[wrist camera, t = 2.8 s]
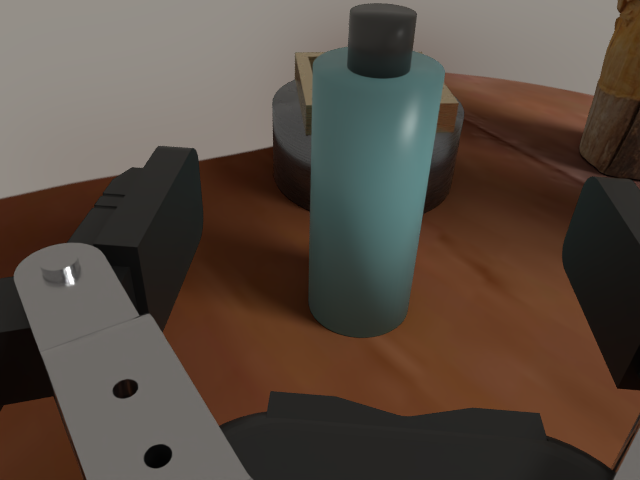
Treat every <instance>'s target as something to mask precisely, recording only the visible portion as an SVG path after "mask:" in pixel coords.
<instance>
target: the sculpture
mask: <svg viewBox="0 0 640 480" xmlns="http://www.w3.org/2000/svg"><path fill="white" fill-rule="evenodd" d="M617 9H618V11H619V12H620V17H618V18H617V19H616V22H615V31H614V34H613V36H612V38H611V40H610V43H609V46H608V48H607V51H606V55H605V59H604V62H603V66H602V71H601V76H600V79H599V81H598V83H597V87H596V91H595V95H594V98H593V102H592V105H591V108H590V111H589V115H588V118H587V122H586V125H585V129H584V132H583V135H582V139H581V142H580V153H581V155H582V156H583V157H584V158H585V159H586V160H587V161H588V162H589V163H590V164H592V165H593V166H595V167H596V168H597V169H598V170H599V171H600V172H601V173H604V174H606V175H609V176H614V177H618V178H630V179H638V180H640V0H618V5H617Z"/></svg>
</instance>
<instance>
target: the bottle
mask: <svg viewBox="0 0 640 480" xmlns="http://www.w3.org/2000/svg"><path fill="white" fill-rule="evenodd" d="M416 17H417V13H416V12H415V11H414V10H412V9H410V8H407V7H403V6H399V5H393V4H381V3H380V4H379V3H374V4H363V5H358V6H355V7H353V8H351V10H350V19H349V38H348V47H344V48H338V49H334V50H331V51H328V52H326V53H323V54H321V55H320V56H318V57H317V58H316V59H315V60H314V62H313V80H312V134H311V188H310V241H309V295H308V302H309V308H310V311H311V313H312V314H313V316H314V317H315V319H316V320H317V321H318V322H319V323H320V324H322V325H323V326H324V327H326V328H327V329H329V330H331V331H333V332H336V333H338V334H341V335H345V336H350V337H359V338H364V337H374V336H379V335H382V334H385V333H388V332H390V331H392V330H393V329H395V328H396V327H398V326H399V325H400V324H401V323H402V322H403V320H404V319H405V317H406V315H407V312H408V305H409V299H410V293H411V286H412V280H413V274H414V267H415V261H416V255H417V248H418V242H419V235H420V229H421V223H422V216H423V210H424V204H425V197H426V191H427V184H428V178H429V172H430V165H431V159H432V153H433V146H434V140H435V134H436V127H437V121H438V114H439V108H440V102H441V95H442V89H443V83H444V76H445V70H444V68H443V66H442V65H441V64H440V63H439V62H438V61H436V60H435V59H433V58H431V57H429V56H426V55H424V54H421V53H418V52H415V51H413V43H414V34H415V26H416Z"/></svg>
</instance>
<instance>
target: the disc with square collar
mask: <svg viewBox="0 0 640 480" xmlns="http://www.w3.org/2000/svg"><path fill="white" fill-rule="evenodd" d="M323 53H326V52H322V53H321V52H318V53H317V52H316V53H314V52H311V53H309V52H308V53H295V80H293V81H291V82H289V83H287V84H286V85H284V86H282V87H281V88H280V89H279V90H278V91H277V92H276V94H275V96H274V98H273V104H272V106H273V107H272V108H273V161H274V178H275V182H276V184H277V186H278V188H279V189H280V190H281V192H282V193H283V194H284V195H285V196H286V197H287V198H288V199H290V200H291V201H293V202H294V203H296V204H297V205H299V206H301V207H303V208H305V209H307V210H309V211H310V188H311V134H312V80H313V62H314V60H315V59H316V58H317V57H318V56H320V55H321V54H323ZM418 53H421V54H422V52H418ZM463 119H464V110H463V107H462V105H461V103H460V102H459V101H458V99H457V98H456V97H455V96H453V94H452V93H451V92H450V90H449V89H448V88H447V86H446V85H445V83H443V89H442V95H441V102H440V108H439V114H438V121H437V127H436V134H435V140H434V146H433V153H432V159H431V165H430V172H429V178H428V184H427V191H426V197H425V204H424V210H423V214H424V213H426V212H428V211H430V210H432V209H433V208H435V207H436V206H438V205H439V204H440V203H441V202H442V201H443V200H444V199H445V198H446V196H447V195H448V193H449V190H450V188H451V182H452V177H453V172H454V167H455V161H456V156H457V151H458V146H459V140H460V135H461V130H462V125H463Z"/></svg>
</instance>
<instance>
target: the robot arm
mask: <svg viewBox="0 0 640 480" xmlns="http://www.w3.org/2000/svg"><path fill="white" fill-rule="evenodd" d="M202 229H203V206H202V195H201V183H200V172H199V161H198V155H197V152H196V150H195V149H194V148H182V147H167V146H158V147H157V148H156V150H155V151H154V153H153V154H152V156H151V157H150V158H149V160H148V161H147V163H146V165H145V166H144V168H134V167H132V168H130V169H129V170H127V171H125V172H124V173H122V174H121V175H119V176H117V177H116V178H114V179H113V180H112V181H111V183H110V184H109V186H108V187H107V188H106V190H105V191H104V192H103V196H101V197H100V198H99V199H98V201H97V202H96V203H95V205H94V208H92V209H91V210H90V212H89V213H88V214H87V216H86V217H85V219H84V220H83V221H82V223H81V224H80V225H79V227H78V228H77V230H76V231H75V232H74V234H73V235H72V236H71V238H70V239H69V241H68V242H67V243H63V244H57V245H53V246H49V247H46V248H43V249H41V250H38V251H36V252H34V253H33V254H31V255H29V256H28V257H27V258H25V259H24V260H23V261H22V262H21V263H20V264H19V265H18V267H17V268H16V270H15V272H14V276H13V277H7V278H1V279H0V411H1V409H2V407H3V405H7V404H13V403H18V402H24V401H29V400H35V399H40V398H46V397H51V396H54V399H55V402H56V405H57V408H58V410H59V413H60V416H61V419H62V422H63V424H64V427H65V430H66V433H67V436H68V438H69V441H70V444H71V447H72V450H73V452H74V455H75V458H76V461H77V464H78V466H79V469H80V472H81V475H82V478H83V480H640V413H639V415H638V417H637V419H636V421H635V423H634V425H633V427H632V429H631V431H630V432H629V434H628V436H627V438H626V440H625V442H624V444H623V446H622V448H621V450H620V452H619V454H618V456H617V458H616V459H615V461H614V463H613V465H612V467H611V469H610V468H609V467H607V466H606V465H605V464H603V463H602V462H600V461H599V460H597V459H596V458H594V457H592V456H591V455H589V454H587V453H586V452H584V451H582V450H580V449H578V448H576V447H574V446H572V445H570V444H567V443H565V442H562V441H560V440H557V439H555V438H552V437H549V436H546V434H545V430H544V427H543V423H542V420H541V417H540V413H531V412H519V411H506V410H494V409H482V408H467V409H460V410H453V411H446V412H439V413H432V414H425V415H417V416H408V417H407V416H400V415H396V414H392V413H389V412H386V411H382V410H379V409H376V408H372V407H369V406H366V405H362V404H359V403H356V402H352V401H349V400H346V399H342V398H339V397H335V396H322V395H310V394H298V393H286V392H273V391H271V392H270V398H269V403H268V409H267V412H261V413H255V414H251V415H247V416H243V417H240V418H237V419H234V420H232V421H229V422H226V423H224V424H222V425H220V426H218V424H217V422H216V421H215V419H214V417H213V416H212V414H211V413H210V411H209V409H208V408H207V406H206V404H205V403H204V401H203V399H202V398H201V396H200V394H199V393H198V391H197V389H196V388H195V386H194V384H193V383H192V381H191V379H190V378H189V376H188V374H187V373H186V371H185V369H184V368H183V366H182V365H181V363H180V361H179V360H178V358H177V356H176V355H175V353H174V351H173V350H172V348H171V346H170V345H169V343H168V341H167V340H166V338H165V336H164V335H163V330H164V328H165V325H166V323H167V320H168V318H169V315H170V313H171V311H172V308H173V306H174V303H175V301H176V298H177V296H178V293H179V291H180V289H181V286H182V284H183V281H184V279H185V276H186V274H187V271H188V269H189V267H190V264H191V262H192V259H193V257H194V254H195V252H196V249H197V247H198V244H199V242H200V239H201V235H202ZM562 259H563V266H564V269H565V272H566V274H567V276H568V278H569V281H570V283H571V285H572V288H573V290H574V292H575V294H576V297H577V299H578V301H579V303H580V306H581V308H582V310H583V312H584V315H585V317H586V319H587V321H588V324H589V326H590V328H591V330H592V333H593V335H594V337H595V339H596V342H597V344H598V346H599V348H600V351H601V353H602V355H603V357H604V360H605V362H606V364H607V366H608V369H609V371H610V373H611V375H612V378H613V380H614V382H615V385H616V387H617V389H630V390H640V190H639V188H638V187H637V186H636V184H635V183H634V182H633V181H632V180H631V179H622V178H607V177H590V178H588V179H587V181H586V182H585V184H584V186H583V188H582V191H581V194H580V196H579V199H578V202H577V205H576V208H575V211H574V214H573V217H572V219H571V222H570V225H569V228H568V231H567V234H566V237H565V240H564V244H563V251H562Z"/></svg>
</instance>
